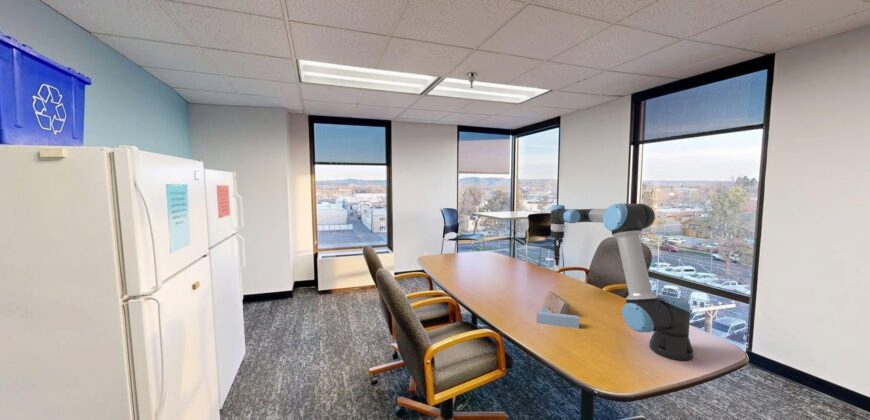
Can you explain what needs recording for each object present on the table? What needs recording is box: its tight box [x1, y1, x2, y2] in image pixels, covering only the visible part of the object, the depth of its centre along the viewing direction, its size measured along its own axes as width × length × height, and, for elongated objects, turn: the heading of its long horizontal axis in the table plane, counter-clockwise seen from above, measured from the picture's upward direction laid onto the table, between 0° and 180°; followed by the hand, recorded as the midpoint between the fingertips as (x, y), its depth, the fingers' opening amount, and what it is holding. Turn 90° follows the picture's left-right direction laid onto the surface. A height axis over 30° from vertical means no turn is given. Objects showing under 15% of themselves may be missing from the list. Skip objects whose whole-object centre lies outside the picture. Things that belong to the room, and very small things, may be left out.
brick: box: [543, 290, 571, 315], centre depth 181 cm, size 16×8×5 cm
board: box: [536, 305, 580, 329], centre depth 169 cm, size 12×20×5 cm, turn 71°
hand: (556, 268), depth 195 cm, fingers open, 7 cm apart
